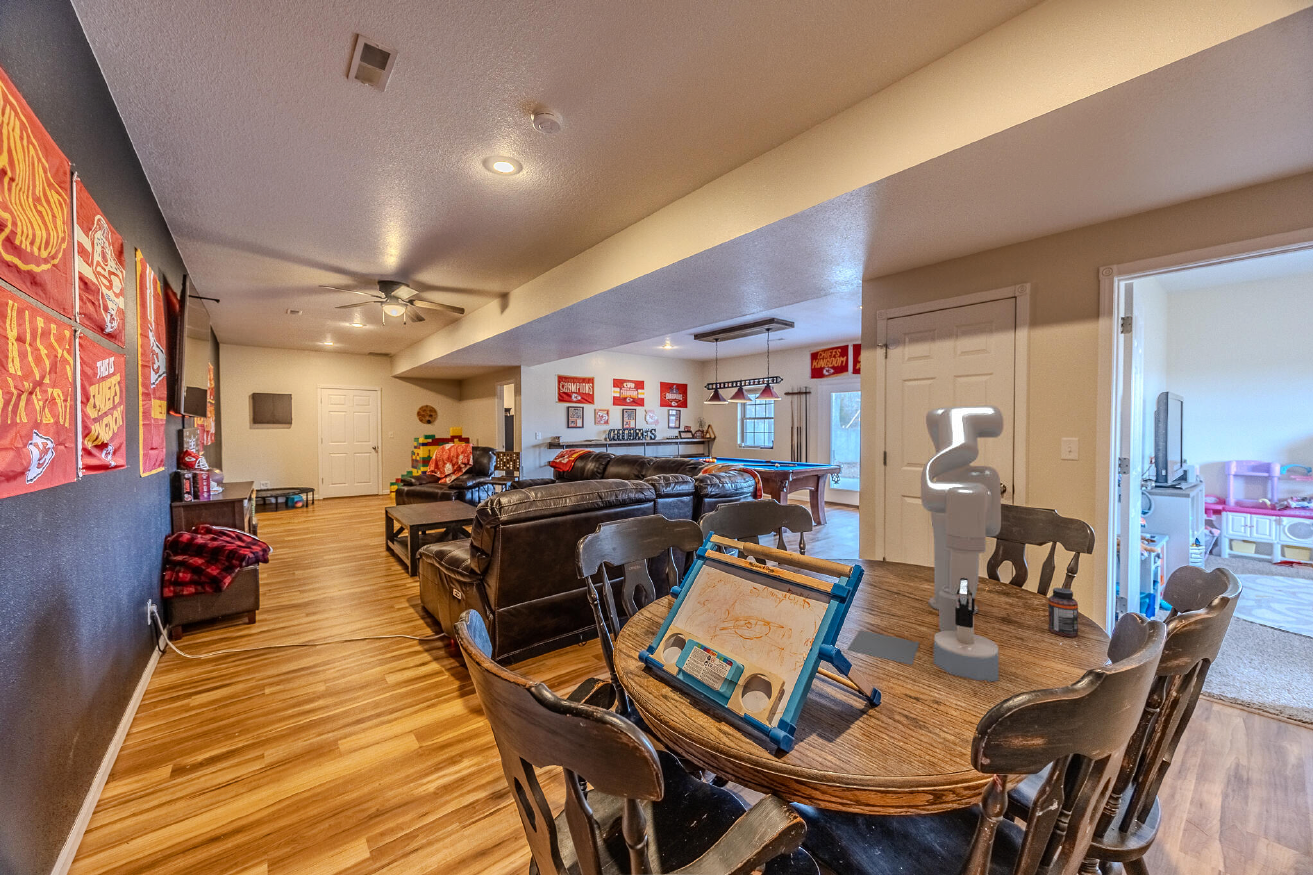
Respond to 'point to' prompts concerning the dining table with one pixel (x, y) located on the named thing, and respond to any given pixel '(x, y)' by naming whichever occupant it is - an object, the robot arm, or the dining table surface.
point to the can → (947, 610)
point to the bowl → (967, 665)
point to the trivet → (884, 647)
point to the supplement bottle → (1063, 613)
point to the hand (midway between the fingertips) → (965, 618)
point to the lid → (966, 643)
